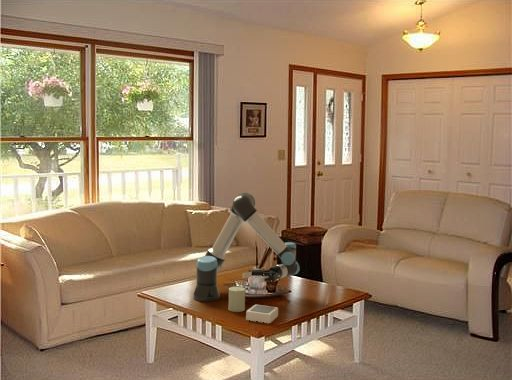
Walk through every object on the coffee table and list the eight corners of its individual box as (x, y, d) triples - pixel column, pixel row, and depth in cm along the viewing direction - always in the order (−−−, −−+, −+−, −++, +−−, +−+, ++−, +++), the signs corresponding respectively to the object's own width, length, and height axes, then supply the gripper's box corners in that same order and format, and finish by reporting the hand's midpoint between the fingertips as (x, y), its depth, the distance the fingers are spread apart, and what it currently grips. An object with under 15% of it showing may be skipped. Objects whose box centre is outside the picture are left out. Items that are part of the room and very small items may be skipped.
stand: (246, 319, 324) (246, 310, 324) (255, 312, 336) (255, 303, 336) (269, 323, 319) (269, 314, 319) (277, 316, 332) (278, 307, 331)
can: (230, 312, 336) (230, 290, 335) (226, 307, 345) (226, 286, 343) (246, 311, 339) (247, 289, 337) (242, 306, 347) (242, 285, 346)
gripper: (293, 282, 353) (266, 289, 338) (262, 274, 370) (236, 280, 356) (293, 269, 352) (267, 275, 337) (262, 261, 370) (236, 267, 355)
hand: (251, 278), depth 346 cm, fingers open, 13 cm apart
